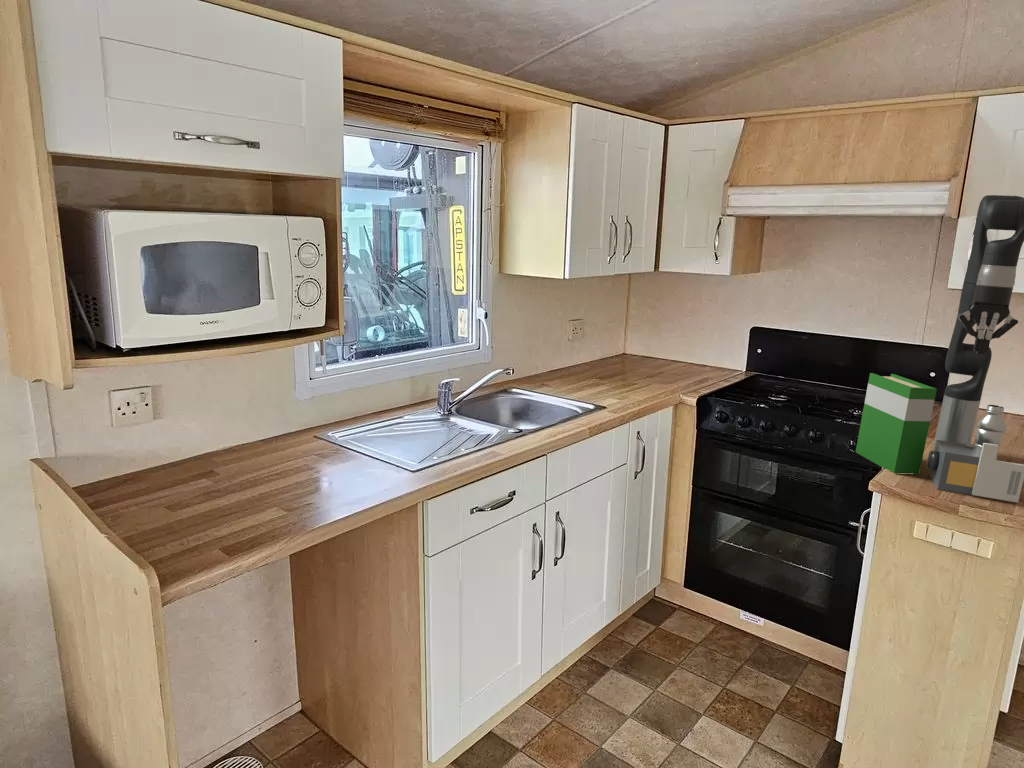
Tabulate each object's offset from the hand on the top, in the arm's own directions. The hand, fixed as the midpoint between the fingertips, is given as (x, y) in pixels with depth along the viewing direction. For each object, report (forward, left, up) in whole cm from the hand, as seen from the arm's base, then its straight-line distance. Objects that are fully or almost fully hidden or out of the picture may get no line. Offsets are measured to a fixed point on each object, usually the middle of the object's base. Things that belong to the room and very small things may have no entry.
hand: (979, 353), depth 172 cm
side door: (+7, +8, -34) cm, 36 cm away
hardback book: (-11, -14, -35) cm, 39 cm away
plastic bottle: (-12, +9, -35) cm, 38 cm away
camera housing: (0, +1, -35) cm, 35 cm away
